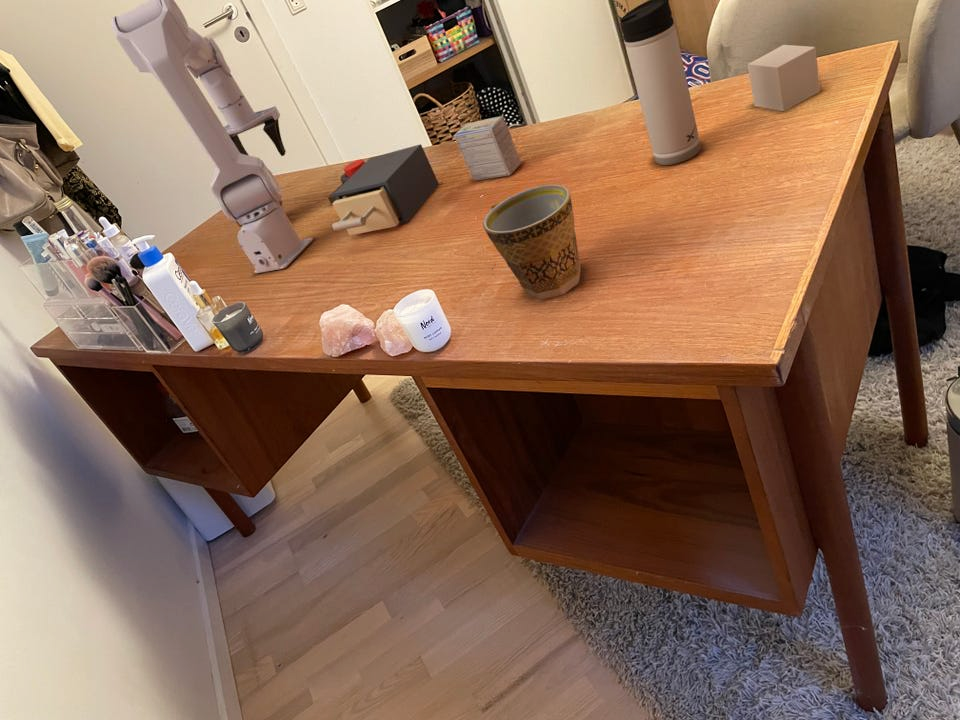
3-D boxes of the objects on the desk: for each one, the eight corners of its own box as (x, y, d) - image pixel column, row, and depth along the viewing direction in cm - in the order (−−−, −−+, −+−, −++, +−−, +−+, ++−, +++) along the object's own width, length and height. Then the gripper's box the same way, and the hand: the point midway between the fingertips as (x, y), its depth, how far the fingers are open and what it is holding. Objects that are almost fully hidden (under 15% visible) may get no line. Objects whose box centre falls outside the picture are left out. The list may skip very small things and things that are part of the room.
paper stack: (522, 163, 115) (504, 114, 110) (510, 176, 112) (491, 127, 108) (485, 169, 120) (466, 122, 115) (472, 182, 117) (452, 134, 113)
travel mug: (709, 152, 91) (676, -4, 80) (660, 170, 92) (621, 19, 82) (697, 138, 96) (665, -12, 85) (651, 155, 97) (613, 10, 87)
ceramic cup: (613, 268, 77) (587, 190, 72) (547, 317, 75) (515, 239, 69) (546, 247, 88) (519, 177, 82) (486, 289, 85) (454, 220, 80)
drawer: (382, 242, 109) (364, 208, 106) (335, 251, 114) (316, 218, 111) (427, 189, 121) (412, 157, 117) (382, 199, 126) (366, 169, 123)
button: (360, 175, 136) (356, 167, 135) (343, 179, 138) (339, 171, 137) (370, 165, 139) (366, 157, 138) (354, 169, 141) (350, 161, 140)
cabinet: (407, 223, 114) (386, 180, 110) (355, 233, 120) (333, 193, 116) (439, 184, 123) (421, 143, 119) (389, 196, 129) (370, 157, 125)
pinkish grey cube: (789, 87, 98) (783, 44, 94) (820, 91, 93) (815, 46, 89) (754, 106, 97) (747, 64, 94) (783, 111, 92) (777, 67, 89)
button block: (369, 196, 134) (361, 180, 132) (331, 205, 139) (323, 189, 137) (396, 167, 142) (389, 152, 140) (359, 177, 147) (352, 162, 145)
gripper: (265, 80, 138) (300, 139, 147) (203, 106, 141) (240, 163, 150) (260, 93, 133) (296, 154, 142) (196, 120, 136) (235, 179, 144)
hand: (267, 160), depth 146 cm, fingers open, 7 cm apart
